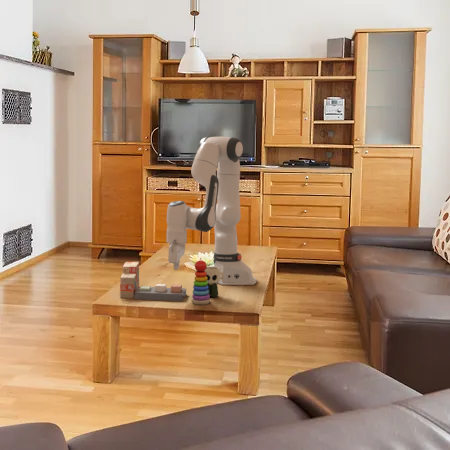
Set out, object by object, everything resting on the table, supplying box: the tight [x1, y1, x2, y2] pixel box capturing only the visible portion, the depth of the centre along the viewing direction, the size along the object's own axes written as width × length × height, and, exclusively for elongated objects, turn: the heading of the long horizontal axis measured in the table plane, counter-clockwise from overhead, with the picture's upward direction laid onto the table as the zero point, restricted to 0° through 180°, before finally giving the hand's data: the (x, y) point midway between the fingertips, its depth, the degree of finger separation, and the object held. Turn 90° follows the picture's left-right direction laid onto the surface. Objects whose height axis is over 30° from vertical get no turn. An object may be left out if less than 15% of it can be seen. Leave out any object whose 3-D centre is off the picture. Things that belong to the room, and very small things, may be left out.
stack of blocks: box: [119, 261, 140, 299], centre depth 308 cm, size 21×6×12 cm, turn 1°
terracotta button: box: [170, 283, 183, 293], centre depth 299 cm, size 4×4×3 cm
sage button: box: [139, 285, 152, 291], centre depth 301 cm, size 4×4×3 cm
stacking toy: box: [191, 259, 211, 306], centre depth 290 cm, size 8×8×19 cm
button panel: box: [134, 286, 187, 302], centre depth 300 cm, size 21×11×3 cm, turn 84°
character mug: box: [205, 266, 224, 298], centre depth 302 cm, size 11×7×13 cm, turn 88°
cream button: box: [154, 283, 167, 292], centre depth 300 cm, size 4×4×3 cm
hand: (176, 269), depth 298 cm, fingers closed
